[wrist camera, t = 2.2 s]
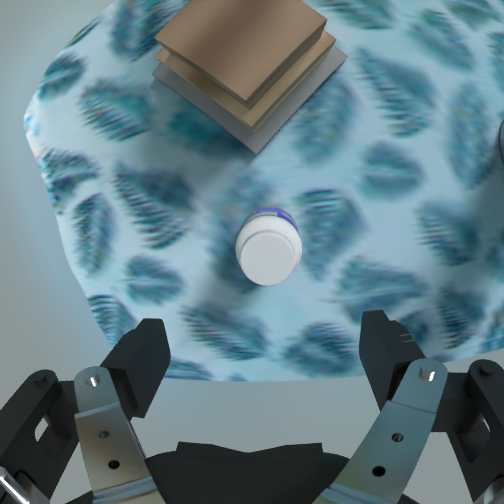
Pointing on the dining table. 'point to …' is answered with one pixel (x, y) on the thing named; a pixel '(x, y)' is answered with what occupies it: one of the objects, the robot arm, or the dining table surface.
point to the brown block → (245, 51)
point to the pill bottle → (268, 246)
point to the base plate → (274, 120)
